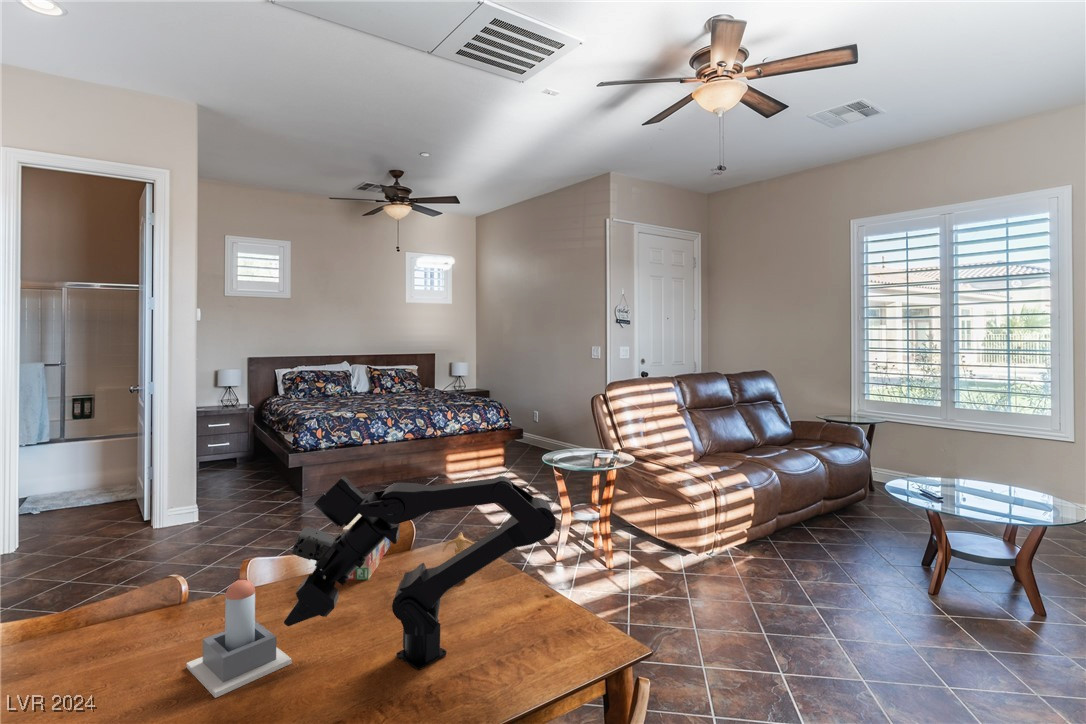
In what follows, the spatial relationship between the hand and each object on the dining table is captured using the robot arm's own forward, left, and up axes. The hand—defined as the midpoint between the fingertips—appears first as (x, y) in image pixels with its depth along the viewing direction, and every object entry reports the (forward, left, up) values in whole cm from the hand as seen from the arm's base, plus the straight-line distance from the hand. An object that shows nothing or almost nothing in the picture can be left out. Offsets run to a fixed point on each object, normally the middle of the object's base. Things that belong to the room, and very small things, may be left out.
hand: (294, 609), depth 94 cm
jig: (+5, +7, -9) cm, 12 cm away
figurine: (+1, -40, -9) cm, 41 cm away
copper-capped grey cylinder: (+5, +7, -8) cm, 12 cm away
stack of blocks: (+27, -33, -9) cm, 44 cm away
